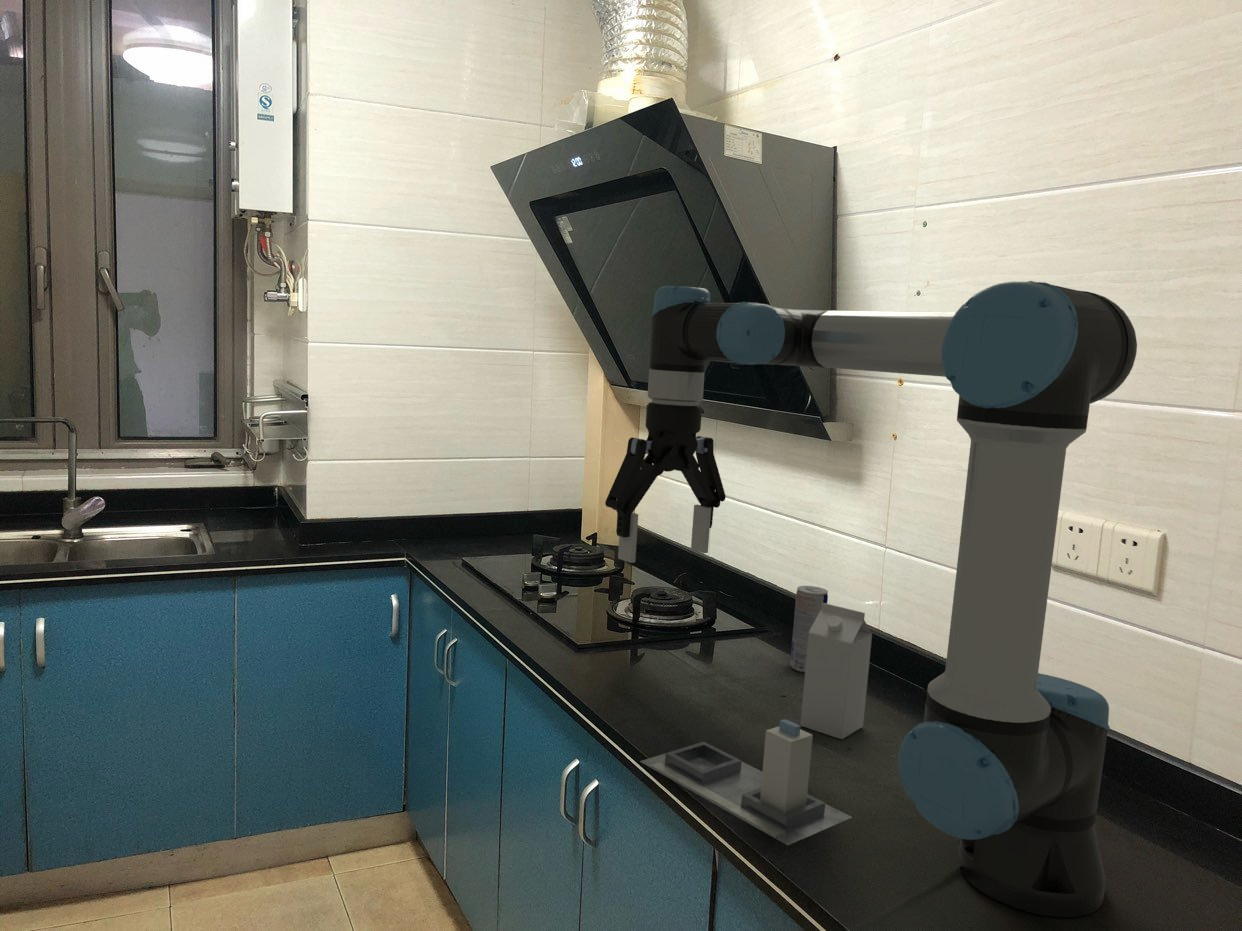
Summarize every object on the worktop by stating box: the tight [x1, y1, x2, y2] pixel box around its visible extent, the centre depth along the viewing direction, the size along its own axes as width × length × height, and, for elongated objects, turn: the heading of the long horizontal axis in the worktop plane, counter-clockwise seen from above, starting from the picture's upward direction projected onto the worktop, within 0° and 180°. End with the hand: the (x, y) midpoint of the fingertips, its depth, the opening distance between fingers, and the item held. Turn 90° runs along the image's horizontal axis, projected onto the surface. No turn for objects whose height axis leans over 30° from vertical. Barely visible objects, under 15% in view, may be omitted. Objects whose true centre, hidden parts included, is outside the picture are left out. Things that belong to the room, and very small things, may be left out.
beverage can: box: [789, 585, 829, 674], centre depth 174 cm, size 6×6×15 cm
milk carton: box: [800, 603, 873, 740], centre depth 148 cm, size 7×7×19 cm
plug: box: [760, 718, 813, 814], centre depth 118 cm, size 4×4×11 cm
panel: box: [639, 741, 853, 846], centre depth 124 cm, size 26×12×2 cm, turn 40°
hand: (664, 555), depth 133 cm, fingers open, 13 cm apart
